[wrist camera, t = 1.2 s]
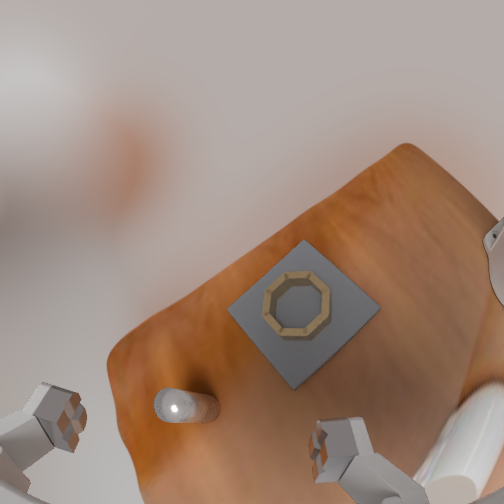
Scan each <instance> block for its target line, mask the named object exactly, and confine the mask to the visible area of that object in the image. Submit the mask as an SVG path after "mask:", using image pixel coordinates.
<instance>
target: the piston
mask: <svg viewBox="0 0 504 504" xmlns="http://www.w3.org/2000/svg"><path fill="white" fill-rule="evenodd" d="M154 409H155V412H156V414H157V416H158V417H159V418H160V419H161V420H163V421H165V422H177V423H210V422H213V421H214V420H216V419H217V417H218V416H219V413H220V405H219V402H218V401H217V399H216V398H215V397H213V396H211V395H207V394H201V393H195V392H189V391H184V390H178V389H173V388H164V389H162V390H160V391H159V392H158V393H157V395H156V397H155V400H154Z"/></svg>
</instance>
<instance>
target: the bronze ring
mask: <svg viewBox="0 0 504 504" xmlns="http://www.w3.org/2000/svg"><path fill="white" fill-rule="evenodd" d="M296 286H312V287H313V288H314V289H315V290H316V291H317V292H318V293H319V294H320V295H321V296H322V307H321V313H320V314H319V315H318V316H317V317H316V318H315V319H314V320H313V321H312V322H311V323H310V324H309V325H308V326H306V327H305V328H283V327H282V326H281V325H280V324H279V323H278V322H277V321H276V320H275V316H276V306H277V300H278V299H279V298H280V297H281V296H282V295H283V294H284V293H285V292H287V291H288V290H289V289H290V288H291V287H296ZM262 317H263V318H264V319H265V320H266V321H267V323H268V324H269V325H270V326H271V327H272V328H273V329H274V331H275V332H276V333H277V334H278V335H279V336H280V337H281V338H282V339H284V340H292V341H311V340H312V339H314V338H315V337H316V336H317V335H318V334H319V333H320V332H321V331H322V330H323V329H324V328H325V327H327V326H328V325H329V324H330V323H331V318H332V294H331V291H330V288H329V287H328V286H327V285H326V284H324V283H323V282H322V281H321V280H320V279H319V278H318V277H317V276H316V275H315V274H314V273H313V272H312V271H297V272H285V273H283V274H282V275H281V276H280V277H279V278H277V279H276V280H275V281H274V282H273V283H272V284H271V285H270V286H269V287H267V288H266V289H265V291H264V300H263V309H262Z"/></svg>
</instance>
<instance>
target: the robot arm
mask: <svg viewBox="0 0 504 504" xmlns="http://www.w3.org/2000/svg"><path fill="white" fill-rule="evenodd" d="M493 236H495V237H496V238H494V237H493ZM483 244H484V247H485V250H486V252H487V254H488V258H489V274H490V280H491V283H492V287H493V289H494V292H495V294H496V296H497V297H498V299H499V300H500V302H501V303H502V305H503V306H504V217H503V218H502V219H501V221H499V222H498V223H497V224H496V225H495V226H494V227H493V228H492V229H491V230H490V231H489V232H488V233H487V234H486V235H485V237H484V238H483ZM80 401H81V398H80V395H79V393H76V392H73V391H70V390H66V389H63V388H60V387H57V386H54V385H51V384H48V383H45V382H42V383H41V384H39V386H38V387H37V388H36V390H35V391H34V393H33V394H32V396H31V397H30V399H29V400H28V402H27V404H26V405H25V407H24V408H23V410H22V411H21V410H18V411H16V412H14V413H12V414H10V415H7V416H6V417H3V418H1V419H0V504H49V503H47V502H45V501H42V500H40V499H38V498H36V497H34V496H32V495H29V494H28V493H27V491H28V489H29V486H30V484H31V483H30V480H29V479H28V478H27V477H26V476H25V475H24V474H23V472H22V471H24V470H25V469H27V468H28V467H29V466H31V465H32V464H33V463H35V462H36V461H38V460H39V459H40V458H42V457H43V456H44V455H46V454H47V453H48V452H49V451H51V450H52V449H54V447H57V448H59V449H62V450H65V451H69V452H72V453H74V450H75V449H76V446H77V444H78V442H79V437H78V434H79V433H81V432H82V431H84V428H85V426H86V421H87V414H86V410H85V408H84V407H83V406H82V405H81V404H80ZM315 430H316V431H315V432H313V433H312V435H311V438H310V444H309V451H310V458H311V459H312V460H314V461H315V462H314V464H313V467H312V472H313V478H314V483H327V482H338V483H339V484H340V485H341V487H342V488H343V489H344V490H345V491H346V492H347V493H348V494H349V495H350V496H351V498H352V499H353V500H354V501H355V502H356V503H357V504H429V500H428V498H427V495H426V492H425V489H424V488H423V487H422V486H421V485H419V484H418V483H417V482H415V481H414V480H413V479H411V478H410V477H409V476H407V475H406V474H405V473H403V472H402V471H401V470H400V469H398V468H397V467H396V466H394V465H393V464H392V463H391V462H389V461H388V460H387V459H386V458H384V457H383V456H382V455H380V454H379V453H374V450H373V447H372V444H371V441H370V438H369V435H368V432H367V429H366V426H365V423H364V420H363V418H362V417H351V418H333V419H318V420H317V421H316V424H315ZM469 504H504V487H502V488H500V489H498V490H496V491H494V492H492V493H490V494H488V495H486V496H484V497H482V498H480V499H478V500H476V501H473V502H471V503H469Z"/></svg>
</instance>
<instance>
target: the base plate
mask: <svg viewBox="0 0 504 504" xmlns="http://www.w3.org/2000/svg"><path fill="white" fill-rule="evenodd" d="M297 271H312V272H313V273H314V274H315V275H316V276H317V277H318V278H319V279H320V280H321V281H322V282H323V283H324V284H326V285H327V286H328V287H329V288H330V291H331V294H332V318H331V323H330V324H329V325H328V326H327V327H325V328H324V329H323V330H322V331H321V332H320V333H319V334H318V335H317V336H316V337H315V338H314V339H312V340H311V341H292V340H284V339H282V338H281V337H280V336H279V335H278V334H277V333H276V332H275V331H274V329H273V328H272V327H271V326H270V325H269V324H268V323H267V321H266V320H265V319H264V318H263V317H262V309H263V300H264V291H265V289H266V288H267V287H269V286H270V285H271V284H272V283H273V282H274V281H275V280H276V279H277V278H279V277H280V276H281V275H282V274H283V273H285V272H297ZM321 307H322V296H321V295H320V294H319V293H318V292H317V291H316V290H315V289H314V288H313V287H312V286H296V287H291V288H290V289H289V290H288V291H287V292H285V293H284V294H283V295H282V296H281V297H280V298H279V299H278V300H277V306H276V316H275V320H276V321H277V322H278V323H279V324H280V325H281V326H282V327H283V328H305V327H306V326H308V325H309V324H310V323H311V322H312V321H313V320H314V319H315V318H316V317H317V316H318V315H319V314H320V313H321ZM380 309H381V307H380V306H379V305H378V304H377V303H376V302H375V301H373V300H372V299H371V298H370V297H369V296H368V295H367V294H366V293H365V292H364V291H362V290H361V289H360V288H359V287H358V286H357V285H356V284H355V283H354V282H352V281H351V280H350V279H349V278H348V277H347V276H346V275H345V274H343V273H342V272H341V271H340V270H339V269H338V268H337V267H336V266H334V265H333V264H332V263H331V262H330V261H329V260H328V259H326V258H325V257H324V256H323V255H322V254H321V253H320V252H318V251H317V250H316V249H315V248H314V247H313V246H311V245H310V244H309V243H308V242H307V241H306V240H303V241H302V242H301V243H300V244H298V245H297V246H296V247H295V248H294V249H293V250H292V251H291V252H290V253H289V254H287V255H286V256H285V257H284V258H283V259H282V260H281V261H280V262H279V263H278V264H276V265H275V266H274V267H273V268H272V269H271V270H270V271H269V272H268V273H266V274H265V275H264V276H263V277H262V278H261V279H260V280H259V281H258V282H256V283H255V284H254V285H253V286H252V287H251V288H250V289H249V290H248V291H246V292H245V293H244V294H243V295H242V296H241V297H240V298H239V299H237V300H236V301H235V302H234V303H233V304H232V305H231V306H230V307H228V308H227V310H228V311H229V313H230V314H231V315H232V316H233V318H234V319H235V320H236V321H237V323H238V324H239V325H240V326H241V328H242V329H243V330H244V331H245V333H246V334H247V335H248V336H249V338H250V339H251V340H252V341H253V342H254V344H255V345H256V346H257V347H258V349H259V350H260V351H261V352H262V353H263V355H264V356H265V357H266V358H267V359H268V361H269V362H270V363H271V364H272V365H273V367H274V368H275V369H276V370H277V371H278V373H279V374H280V375H281V376H282V377H283V378H284V380H285V381H286V382H287V383H288V384H289V385H290V387H291V388H292V389H293V390H295V389H296V388H298V387H299V386H300V385H301V384H302V383H304V382H305V381H306V380H307V379H308V378H309V377H310V376H312V375H313V374H314V373H315V372H316V371H317V370H318V369H320V368H321V367H322V366H323V365H324V364H325V363H326V362H327V361H328V360H329V359H331V358H332V357H333V356H334V355H335V354H336V353H337V352H338V351H339V350H340V349H341V348H342V347H343V346H344V345H345V344H347V343H348V342H349V341H350V340H351V339H352V338H353V337H354V336H355V335H356V334H357V333H358V332H359V331H360V330H361V329H362V328H363V327H364V326H365V325H366V324H367V323H368V322H369V321H370V320H371V319H372V318H373V317H374V316H375V315H376V314H377V313H378V311H379V310H380Z"/></svg>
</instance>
